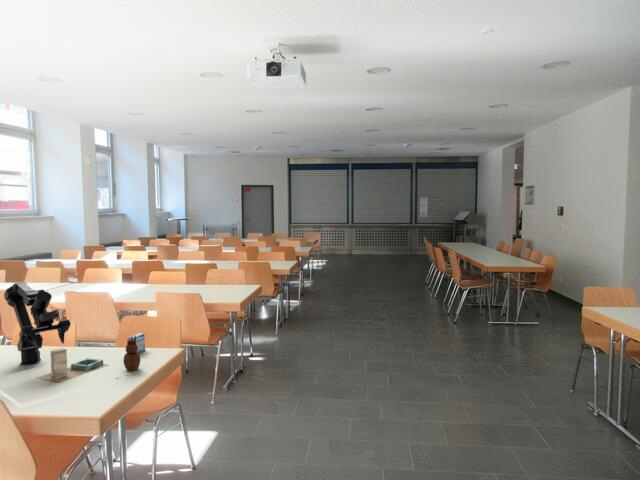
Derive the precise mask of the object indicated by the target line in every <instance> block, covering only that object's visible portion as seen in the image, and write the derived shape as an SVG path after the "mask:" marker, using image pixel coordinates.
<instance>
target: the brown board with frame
mask: <svg viewBox="0 0 640 480" xmlns="http://www.w3.org/2000/svg"><path fill="white" fill-rule="evenodd" d="M107 366H109V364H106V363H105V364H104V359H96V358H95V359H94V358H84V359H82V360H79V361H76V362H74V363H71V364H70V366H67V374H68V376H65V377H61V378H57V379H55V378H53V377H52V375H51V373H46V374H44V375H41V376H38V377H36V379H38V380H41V381H42V380H43V381H47V382H51V383H57V384H60V383H62V382H65V381H68V380H71V379H74V378H77V377H79V376H82V375H86V374H88V373H91V372H93V371H96V370H99V369H102V368H105V367H107Z"/></svg>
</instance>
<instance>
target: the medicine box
mask: <svg viewBox="0 0 640 480" xmlns="http://www.w3.org/2000/svg"><path fill="white" fill-rule="evenodd" d="M135 335H136V345H137V353H139V354H141V353H144V351H146V337H145V335H146V334H145V333H144V332H143V333H142V332H141V333H135V334H132V335H130V336H128V337H127V342H128V341H129V339H130V340H131V337H133V341H134V337H135Z"/></svg>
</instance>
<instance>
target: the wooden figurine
mask: <svg viewBox="0 0 640 480" xmlns="http://www.w3.org/2000/svg"><path fill="white" fill-rule="evenodd" d="M134 335H135V334H134ZM126 342H127V343H126V347H125V352H126V353H125V354H124V356H123V366H124V368H125V370H127V371H129V372H131V371H132V372H133V371H137V370H138V369H139V367H140V365H141V355H140V353H137V345H136V335H135V337H134V341H133V337H131V340H130V339H129V341H128V340H127V341H126Z"/></svg>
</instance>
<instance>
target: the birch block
mask: <svg viewBox="0 0 640 480" xmlns="http://www.w3.org/2000/svg"><path fill="white" fill-rule="evenodd" d="M49 352H50V371H51V375H52V377H53V378H55V379H57V378H61V377H65V376H68V374H67V368H68V354H67V349H66V348H64V347H59V348H53V349H50V351H49Z"/></svg>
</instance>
